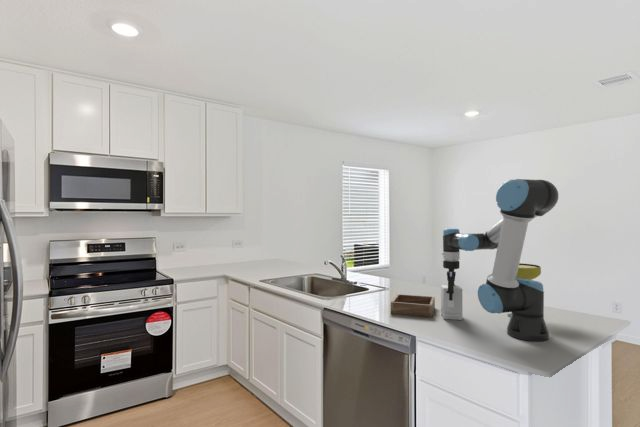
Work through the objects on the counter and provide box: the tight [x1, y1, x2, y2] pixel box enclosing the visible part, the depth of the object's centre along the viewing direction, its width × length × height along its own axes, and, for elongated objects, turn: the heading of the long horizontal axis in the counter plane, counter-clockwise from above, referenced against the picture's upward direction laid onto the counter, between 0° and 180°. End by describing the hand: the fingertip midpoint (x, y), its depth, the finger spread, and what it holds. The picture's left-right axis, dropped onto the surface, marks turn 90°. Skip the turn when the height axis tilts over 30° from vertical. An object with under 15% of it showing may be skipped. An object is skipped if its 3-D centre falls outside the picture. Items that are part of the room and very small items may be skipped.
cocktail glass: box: [507, 262, 542, 319], centre depth 181 cm, size 18×18×25 cm
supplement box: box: [440, 284, 463, 321], centre depth 181 cm, size 9×9×15 cm
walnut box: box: [390, 293, 436, 319], centre depth 193 cm, size 20×20×6 cm
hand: (451, 303), depth 181 cm, fingers open, 13 cm apart
